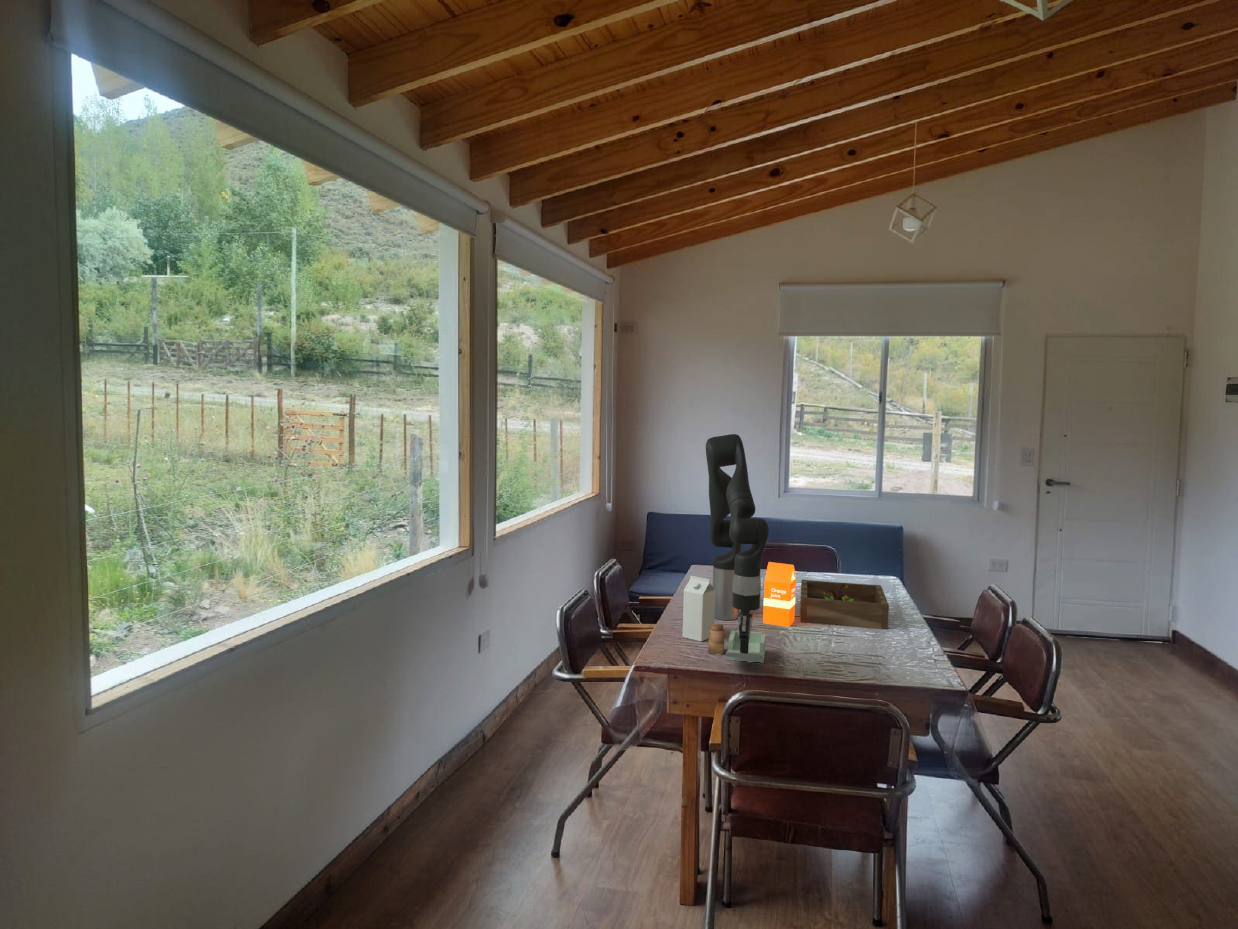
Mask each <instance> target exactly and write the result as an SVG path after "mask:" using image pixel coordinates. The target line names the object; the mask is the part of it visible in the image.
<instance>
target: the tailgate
mask: <svg viewBox="0 0 1238 929" xmlns="http://www.w3.org/2000/svg"><path fill="white" fill-rule="evenodd" d="M724 655H725V657H726V658H728V657H737V658H748V659H758V660H761V659H762V657H763V653H762V652H751V651H748V653H747V654H745V653H740V650H730V649H729V650H728V649H727V651H725V654H724Z"/></svg>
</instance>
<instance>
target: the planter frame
mask: <svg viewBox="0 0 1238 929" xmlns="http://www.w3.org/2000/svg"><path fill="white" fill-rule="evenodd" d="M841 584H847V585H848V588H846V589H845V588H844V587H843V586H842V588H841V594H843V593H844V594H847V596H848V599H847V600H850V599H854V600H853V601H847V600H846V599H845V601H842V600H831V598H830V596H832V597H833V594H832V592H831V591H827V594H826V595H823V592H824V591H826V590H832V591H834V592H835V593H836V594H838V590H839V588H840V586H841ZM844 596H845V595H843V596H842V597H844ZM824 597H827V598H829V599H830V600H829V599H825V598H824ZM799 605H800V608H799V610H800V616H799V623H806V624H807V623H808V624H818V625H829V626H830V625H831V626H841V627H853V628H863V629H875V630H877V629H878V630H886V631H887V630H889V629H888V628H889V615H890V614H889V611H890V605H889V602H888V600H887V597H886V594H885V592H884V588H883V587H882V585H881V584H869V583H868V584H866V583H855V582H854V583H852V582H839V581H826V580H811V579H801V581H800V604H799Z"/></svg>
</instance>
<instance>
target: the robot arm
mask: <svg viewBox="0 0 1238 929" xmlns="http://www.w3.org/2000/svg"><path fill="white" fill-rule="evenodd" d="M743 443H744V442H743V440H742V437H741V436H740V435H739V434H736V433H731V434H724V435H717V436H711V437H709V438H708V439H707V440H706V443H705V455H706V456H705V457H706V465H707V472H708V500H709V502H708V503H709V510H710V519H709V521H710V522H709V538H710V543H711V545H712V546H714V547H718V548H731V550H730V551H729V552H726V553H724V554H721V555H717V556H716V557H714V558H713V561H712V562H713V563H712V564H713V565H712V586H713V588H714V589H715V615H714V619H715V620H723V621H732V620H737V622H738V626H737V627H738V629H737V630H738V631H739V638H740V653H745V654H747V653H748V650H749V639H750V633H751V632H752V629H753V626H752V624H753V620H754V613H751V611H752V612H754V611H758V610H759V609H760V608H761V589H762V584H761V583H762V582H761V581H762V580H761V564H762V558H763V557H762V556H763V553H764V551H765V550H764V549H765V547H766V544H767V541H768V538H769V532H770V528H769V525H768V522H767V521H766V520H765V519H764V518H761V517H759V518H758V517H753V516H754V515H755V514H756V505H755V502H754V497H753V494H752V491H751V487H750V480H749V473H748V465H747V459H746V451H745V447H744V444H743ZM730 466H735V470H734V473H733V475H732V477H731V476H730V475H729V474H728V473H727V472H725V471H724V470H723V469H722V468H723V467H730ZM721 467H722V468H721ZM729 515H730V519H726V517H728V516H729ZM742 545H751V547H750V548H749V549H747V550H744V551H742Z"/></svg>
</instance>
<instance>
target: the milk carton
mask: <svg viewBox="0 0 1238 929" xmlns="http://www.w3.org/2000/svg"><path fill="white" fill-rule="evenodd" d="M710 580H711V579H710V578H704V577H701V576H694V575H690V578H689V581H688V582H687V584H686V586H685V588H684V589H683V610H682V614H683V615H682V638H686V639H689V640H693V641H697V642H704V641H706V640H709V628H711V624H715V618H714V615H715V589H714V588H713V584H711V582H710Z"/></svg>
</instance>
